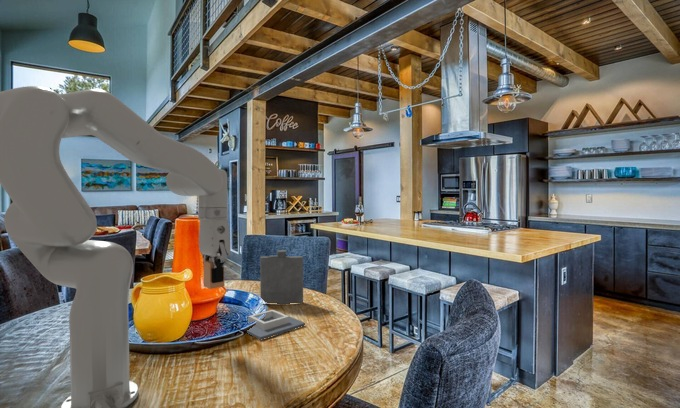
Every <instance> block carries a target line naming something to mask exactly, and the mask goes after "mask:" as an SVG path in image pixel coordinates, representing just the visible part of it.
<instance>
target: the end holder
mask: <svg viewBox="0 0 680 408" xmlns="http://www.w3.org/2000/svg"><path fill="white" fill-rule="evenodd" d="M265 313H266V316H265V318H264V320H260V319H258V318H257V317H259V316H261V315H263V314H265ZM247 318H248V322H254V321H258V322H257V323H256V325H255V326H253V327H252V328H250V329H249V330H247V333H248V334H247V333H246V334H247V335H249V334H250V335H252V336H254V337H256V338H257V339H256V338H255V339H256V340H258V339H259V340H261V339H264V338H267V339H269V338H268V337H270V338H272V337H271V336H273V335H276V336H278V335H277V334H279V335H282V334H285V333H284V332H286V333H288V332H287V331H289V330H292V329H295V328H298V327H301V326H304V325H305V326H306V322H304V321H302V320H299V319H297V318H294V317H291V316H290V315H287V314H284V313H282V312H280V311H278V310H275V309H270V310H267V311H262V312H259V313H255V314H251V315H248V317H247ZM305 326H304V327H305ZM301 328H302V327H301ZM298 329H299V328H298ZM295 330H296V329H295ZM292 331H293V330H292ZM289 332H290V331H289ZM281 333H282V334H281ZM250 335H249V336H250ZM252 336H251V337H252ZM254 337H253V338H254ZM273 337H274V336H273ZM259 340H258V341H259ZM264 340H265V339H264ZM261 341H262V340H261Z"/></svg>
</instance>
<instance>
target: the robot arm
mask: <svg viewBox="0 0 680 408" xmlns="http://www.w3.org/2000/svg"><path fill="white" fill-rule="evenodd" d="M85 136H93V137H94V138H97V140H99V141H101V142H103V143H104V144H106V145H107V146H109V147H110V148H112V149H113V150H114V151H116V152H118V153H120V154H121V155H122V156H123V157H124V158H126V159H128V160H129V161H131V162H132V163H134V164H136V165H139V166H142V167H146V168H150V169H155V170H160V171H163V172H164V171H165V172H168V173H167V175H166V177H165V184H166V187H167V188H168V189H169V191H170V192H171V193H173V194H175V195H178V196H180V197H181V196H182V197H186V196H187V197H188V196H189V197H192V196H193V197H194V196H195V197H197V201H198V202H197V203H198V204H197V209H198V210H197V212H198V217H197V218H198V221H199V230H198V231H199V232H198V249H199V253H201V256H202V262H203V261H207V260H209V257H212V264H213V268H211V282H212V283H217V282H223V281H224V282H225V262H226V261H227V260H228V256H229V255H230V254H231V238H230V237H231V236H230V235H231V234H230V225H229V222H228V221H229V220H228V219H229V218H228V173H227V171H226V170H224V169H221V168H219V167H218V166H217V165H216V164H215V163H214V162H213V161H211V160H210V159H209V158H208V157H207V155H205V154H203V153H202V152H201V151H199V150H197V149H196V148H194V147H192V146H189V145H187V144H185V143H182V142H180V141H178V140H176V139H175V138H172V137H170V136H167V135H164V134H162V133H161V132H159V131H158V130H157V129H156V128H154V127H153V126H152V125H150V124H149V123H148V122H147V121H146V120H145V119H143V118H142V117H141V116H140V115H138V114H137V113H136V112H135V111H134V110H132V109H131V108H130V107H129V106H127V104H125V103H124V102H122V100H120V99H119V98H117V97H116V96H115V95H114V94H112V93H110V92H108V91H107V90H104V89H100V88H91V89H83V90H78V91H73V92H68V93H67V92H66V93H58V92H56V91H54V90H52V89H50V88H47V87H43V86H37V85H36V86H35V85H34V86H33V85H28V86H21V87H15V88H11V89H6V90H2V91H0V185H1V187H2V189H3V190H4V191H5V192H6V194H7V196H9V198H10V199H11V201H12V202H11V203H10V205H9V206H8V207H7V209H6V211H5V213H4V217H3V221H4V223H3V225H4V228H5V230H6V233H7V235H8V237H9V238H10V240H11V241H12V242H13V243H14V244H15V246H16V247H17V248H18V250H20V252H21V253H22V254H23V255H24V256H25V257H26V259H27V260H28V261H29V262H30V263H31V264H32V265H33V267H35V269H36V270H37V271H38V272H39V273H40V274H41V275H42V276H43V277H44V278H45V279H46V280H47V281H49V282H51V283H52V284H54V285H58V286H61V287H66V288H72V289H75V293H74V294H75V295H74V298H73V300H72V303H71V306H70V310H69V316H68V317H69V319H68V322H69V323H68V328H69V352H70V353H69V359H70V360H69V363H70V395H69V396H68V397H67V398H66V399H65V400H64V401H63V402H62V404H61V406H60V408H127V407H128V406H129V405H131V404H132V403H133V402H134V401H135V400H136V399H137V397H139V386H138V384H137V383H136V382H133V380H130V330H129V329H130V327H129V326H130V325H129V297H130V296H129V295H130V288H131V282H132V277H133V273H134V260H133V257H132V255H131V253H130V252H129V250H127V248H125V247H124V246H123V245H120V244H118V243H116V242H112V241H107V240H105V241H104V240H94V239H92V237H93V236H94V235H95V234H96V231H97V228H98V221H97V217H96V215H95V213H94V210H92V208H91V207H90V205H89V203H88V202H87V201H86V199H85V198H84V196H83V195H82V194H81V192H80V190H79V189H78V187H77V186H76V185H75V183H74V182H73V181H72V179H71V177H70V176H69V174H68V173H67V171H66V169H65V167H64V165H63V163H62V161H61V157H60V145H61V142H62V139H67V138H75V137H85ZM90 239H91V240H90ZM218 254H219V255H218ZM216 258H218V259H217V261H216ZM202 264H203V263H202ZM203 266H204V264H203Z"/></svg>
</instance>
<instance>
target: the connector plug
mask: <svg viewBox="0 0 680 408" xmlns="http://www.w3.org/2000/svg"><path fill="white" fill-rule="evenodd" d="M217 259H219V258H216V261H217ZM202 264H204V265H203V287H204V288H207V289H209V290H212V289H218V288H223V287H225V280H224V281H223V282H217V283H212V282H211V268H213V264H212V257H211V256H210V257H209V260H207V261H203V260H202Z"/></svg>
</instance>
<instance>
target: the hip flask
mask: <svg viewBox="0 0 680 408" xmlns="http://www.w3.org/2000/svg"><path fill="white" fill-rule="evenodd" d="M276 254H277V255H264V256H263V255H262V256H260V257H259V258H260V261H259V265H260V268H259V269H260V275H259V276H260V286H259V287H260V288H259V289H260V290H259V291H260V297H261V298H262V299H263V300H264V301H265V302H267V303H277V304H290V303H302V302H303V303H304V256H303V255H302V256H301V255H297V256H296V255H294V256H292V255H291V256H289V255H288V256H286V255H287V250H286V249H285V250H284V249H281V250H276Z"/></svg>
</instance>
